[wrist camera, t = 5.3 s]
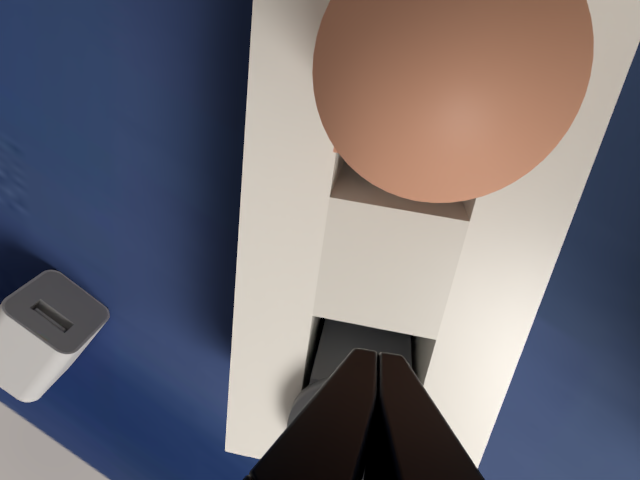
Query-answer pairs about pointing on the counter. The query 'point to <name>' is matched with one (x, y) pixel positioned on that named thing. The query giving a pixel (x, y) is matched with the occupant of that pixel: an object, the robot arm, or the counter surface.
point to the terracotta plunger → (450, 89)
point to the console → (391, 242)
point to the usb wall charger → (45, 332)
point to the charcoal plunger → (339, 344)
